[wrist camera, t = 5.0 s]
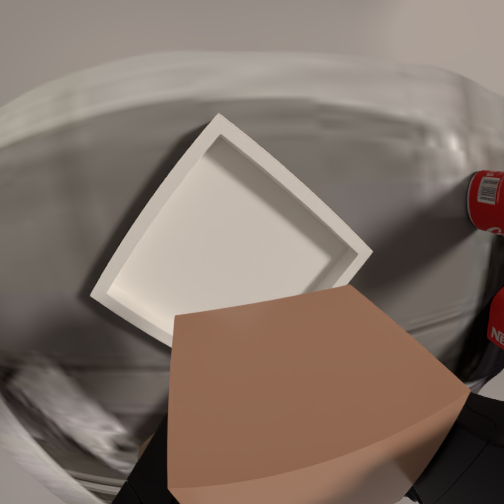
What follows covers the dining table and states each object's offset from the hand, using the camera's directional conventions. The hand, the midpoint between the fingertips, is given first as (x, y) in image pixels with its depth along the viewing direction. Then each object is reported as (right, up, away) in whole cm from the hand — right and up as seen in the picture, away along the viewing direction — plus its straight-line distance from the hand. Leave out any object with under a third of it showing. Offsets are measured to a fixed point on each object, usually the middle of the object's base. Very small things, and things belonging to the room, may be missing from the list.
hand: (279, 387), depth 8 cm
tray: (-2, +3, +11) cm, 11 cm away
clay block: (0, 0, +1) cm, 1 cm away
